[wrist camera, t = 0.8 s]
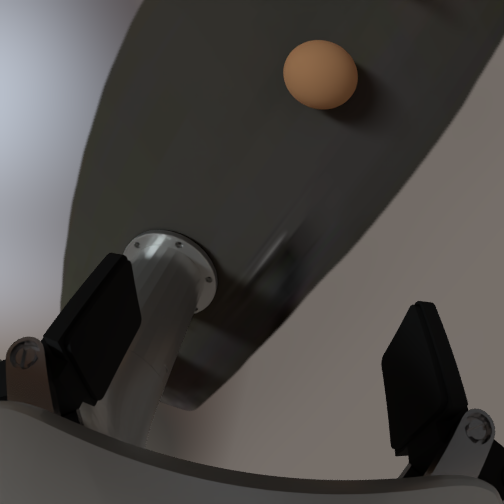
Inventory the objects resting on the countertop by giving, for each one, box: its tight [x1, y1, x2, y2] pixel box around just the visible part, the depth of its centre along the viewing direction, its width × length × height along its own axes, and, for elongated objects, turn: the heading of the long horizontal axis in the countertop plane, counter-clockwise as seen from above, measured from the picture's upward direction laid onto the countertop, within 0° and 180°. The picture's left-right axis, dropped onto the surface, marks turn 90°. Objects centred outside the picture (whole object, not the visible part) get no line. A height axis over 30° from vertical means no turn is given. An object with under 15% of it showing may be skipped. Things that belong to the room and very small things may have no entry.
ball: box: [284, 40, 358, 109], centre depth 22 cm, size 6×6×6 cm
